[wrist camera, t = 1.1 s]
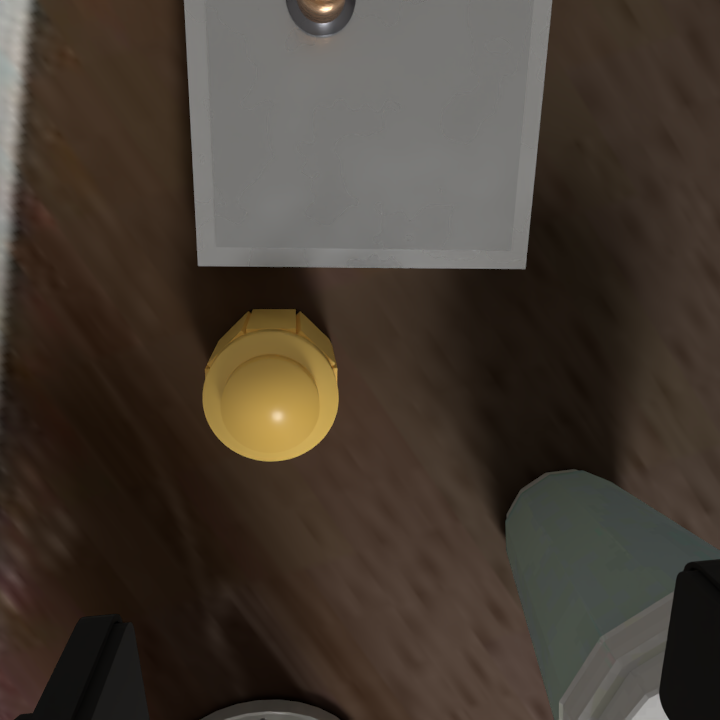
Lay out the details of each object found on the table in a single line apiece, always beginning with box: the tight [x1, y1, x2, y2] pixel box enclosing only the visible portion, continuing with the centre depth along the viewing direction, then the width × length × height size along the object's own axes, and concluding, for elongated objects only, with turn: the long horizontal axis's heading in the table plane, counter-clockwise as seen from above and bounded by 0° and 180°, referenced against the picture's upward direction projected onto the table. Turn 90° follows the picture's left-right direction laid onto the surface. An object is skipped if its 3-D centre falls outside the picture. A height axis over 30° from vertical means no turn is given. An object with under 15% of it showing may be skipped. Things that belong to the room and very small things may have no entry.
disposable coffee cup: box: [505, 469, 720, 720], centre depth 26 cm, size 11×11×15 cm
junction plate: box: [184, 0, 552, 269], centre depth 23 cm, size 16×14×6 cm
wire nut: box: [203, 309, 339, 461], centre depth 26 cm, size 5×5×6 cm
